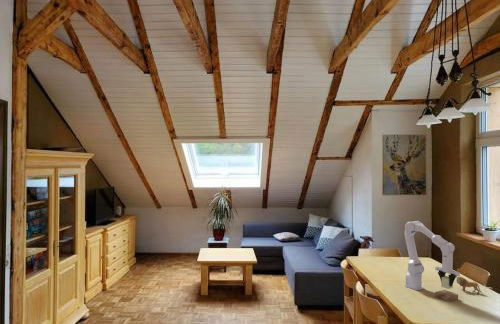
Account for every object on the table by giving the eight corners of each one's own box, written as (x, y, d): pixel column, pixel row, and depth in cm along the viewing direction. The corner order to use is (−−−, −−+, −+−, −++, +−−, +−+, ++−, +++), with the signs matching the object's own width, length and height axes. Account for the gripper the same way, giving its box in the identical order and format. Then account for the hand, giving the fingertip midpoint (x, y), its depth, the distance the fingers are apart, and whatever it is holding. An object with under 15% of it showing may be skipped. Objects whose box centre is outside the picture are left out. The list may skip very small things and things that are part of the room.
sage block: (441, 286, 230) (441, 277, 230) (445, 285, 232) (445, 276, 232) (448, 288, 226) (448, 279, 226) (452, 287, 228) (452, 278, 228)
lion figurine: (456, 291, 242) (456, 277, 242) (455, 288, 247) (455, 275, 247) (482, 294, 236) (483, 280, 236) (481, 291, 241) (481, 278, 241)
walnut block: (435, 297, 231) (435, 291, 231) (444, 295, 235) (444, 289, 235) (448, 302, 223) (448, 296, 223) (458, 300, 227) (458, 294, 227)
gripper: (462, 264, 225) (462, 287, 225) (440, 259, 237) (439, 280, 237) (456, 266, 221) (455, 289, 221) (433, 260, 234) (433, 281, 234)
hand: (446, 284), depth 229 cm, fingers closed on sage block, 4 cm apart
